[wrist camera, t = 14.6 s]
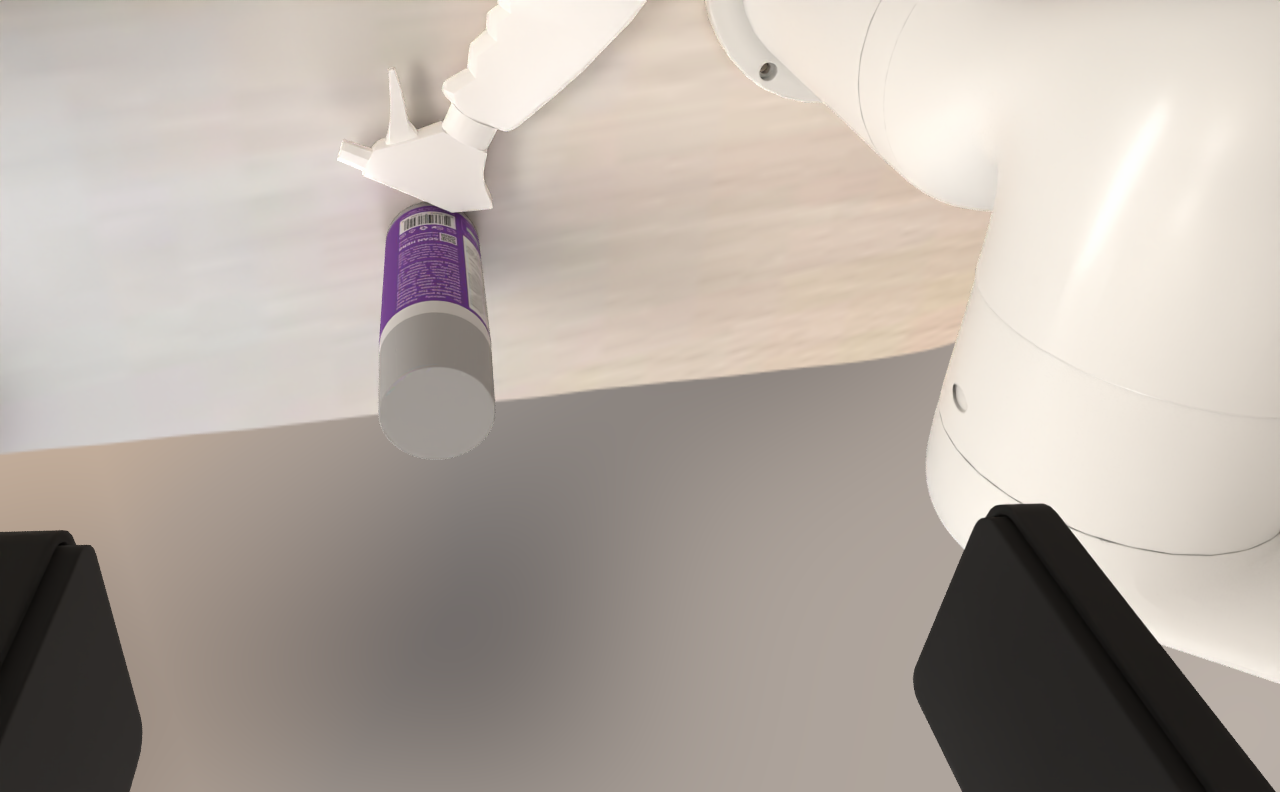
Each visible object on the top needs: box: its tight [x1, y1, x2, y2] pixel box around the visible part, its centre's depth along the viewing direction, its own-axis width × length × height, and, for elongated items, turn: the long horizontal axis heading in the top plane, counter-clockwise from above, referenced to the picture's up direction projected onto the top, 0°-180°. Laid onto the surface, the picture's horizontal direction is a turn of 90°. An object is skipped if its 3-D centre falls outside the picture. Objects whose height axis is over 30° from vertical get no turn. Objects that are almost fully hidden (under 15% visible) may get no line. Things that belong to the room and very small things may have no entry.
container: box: [378, 202, 495, 459], centre depth 43 cm, size 5×5×15 cm
